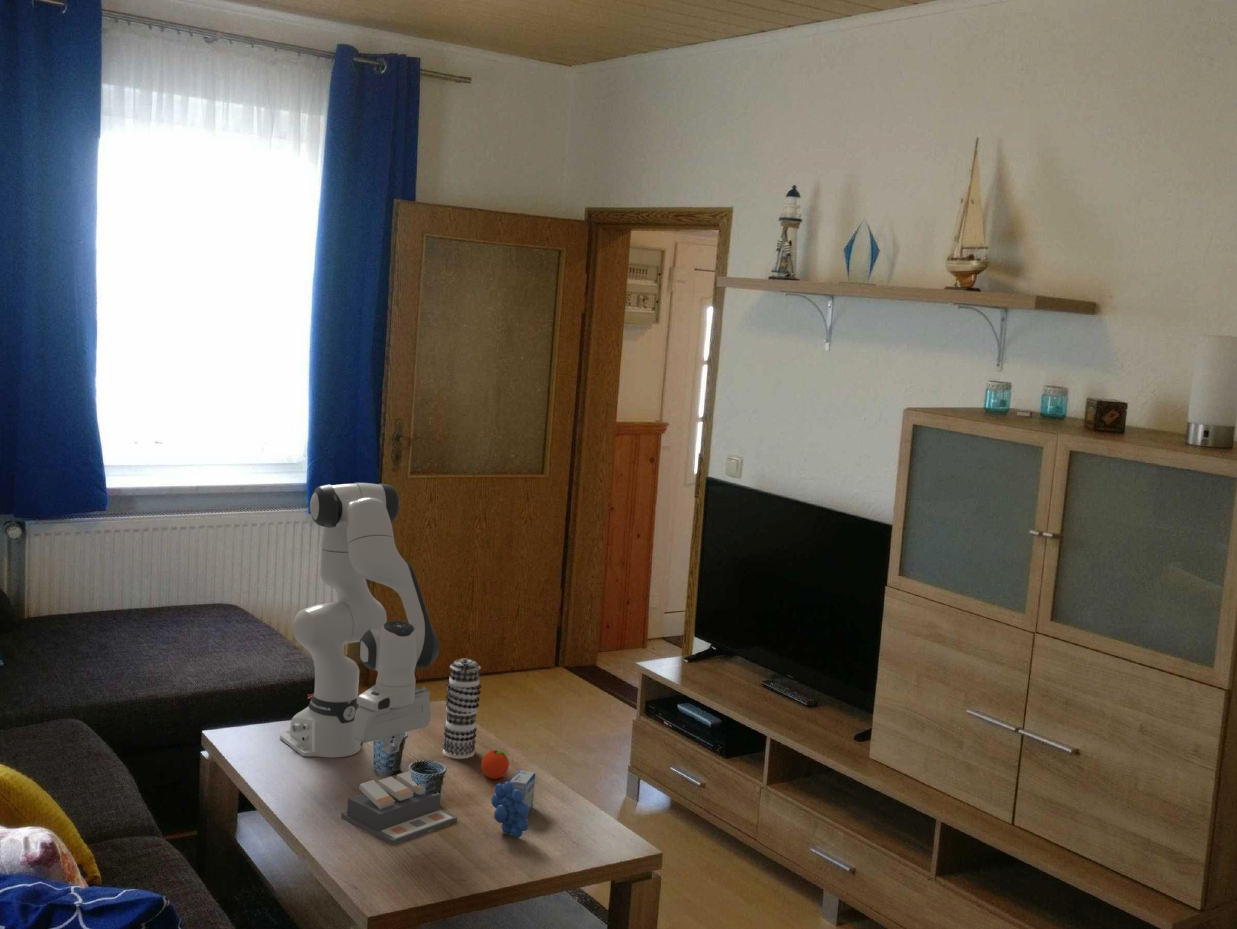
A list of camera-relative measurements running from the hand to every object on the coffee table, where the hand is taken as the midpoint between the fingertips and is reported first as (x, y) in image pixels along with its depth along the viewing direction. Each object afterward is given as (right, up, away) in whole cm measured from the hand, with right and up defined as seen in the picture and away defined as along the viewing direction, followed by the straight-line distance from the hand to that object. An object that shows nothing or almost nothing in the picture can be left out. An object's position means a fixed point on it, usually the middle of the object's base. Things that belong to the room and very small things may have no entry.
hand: (391, 752), depth 278 cm
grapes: (+26, -18, -4) cm, 32 cm away
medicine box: (+28, -17, +10) cm, 34 cm away
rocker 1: (-3, -8, -5) cm, 10 cm away
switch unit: (+2, -15, -1) cm, 15 cm away
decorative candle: (+10, -11, +43) cm, 45 cm away
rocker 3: (+4, -8, +4) cm, 10 cm away
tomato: (+21, -14, +29) cm, 38 cm away
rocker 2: (+1, -8, 0) cm, 8 cm away
